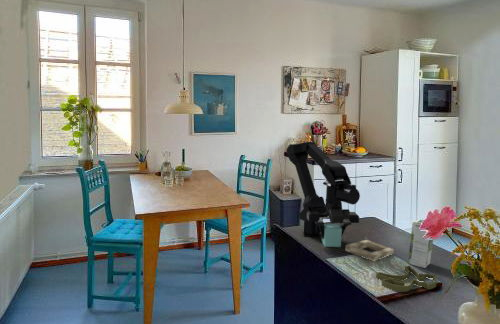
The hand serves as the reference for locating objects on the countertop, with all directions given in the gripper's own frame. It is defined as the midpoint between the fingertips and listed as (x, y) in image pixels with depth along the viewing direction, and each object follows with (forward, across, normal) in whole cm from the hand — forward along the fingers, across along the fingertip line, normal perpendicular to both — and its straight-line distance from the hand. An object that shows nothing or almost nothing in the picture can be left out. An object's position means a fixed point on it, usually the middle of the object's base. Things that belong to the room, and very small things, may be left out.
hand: (331, 238), depth 142 cm
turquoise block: (+2, 0, 0) cm, 2 cm away
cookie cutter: (+3, +16, -31) cm, 35 cm away
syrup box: (+2, +26, -17) cm, 31 cm away
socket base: (+2, +12, -8) cm, 15 cm away
